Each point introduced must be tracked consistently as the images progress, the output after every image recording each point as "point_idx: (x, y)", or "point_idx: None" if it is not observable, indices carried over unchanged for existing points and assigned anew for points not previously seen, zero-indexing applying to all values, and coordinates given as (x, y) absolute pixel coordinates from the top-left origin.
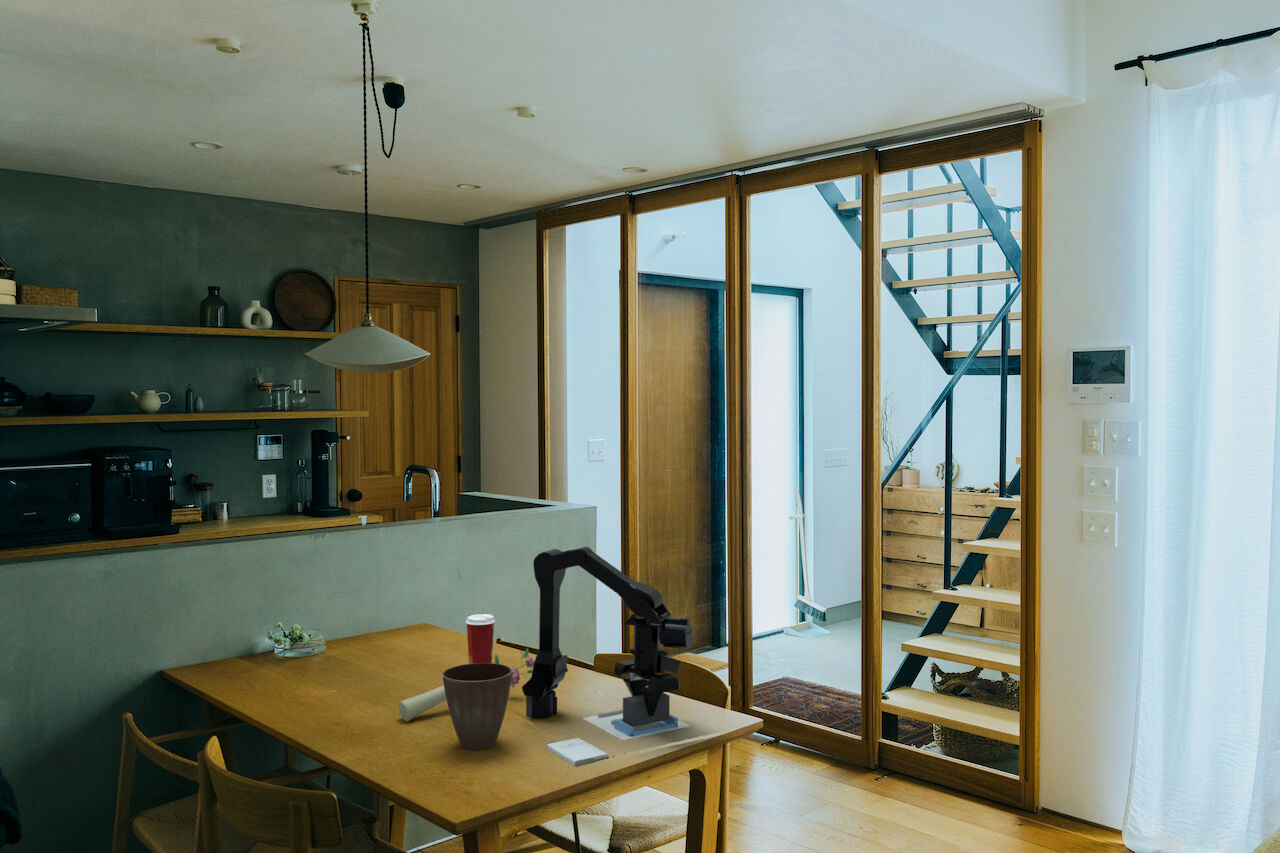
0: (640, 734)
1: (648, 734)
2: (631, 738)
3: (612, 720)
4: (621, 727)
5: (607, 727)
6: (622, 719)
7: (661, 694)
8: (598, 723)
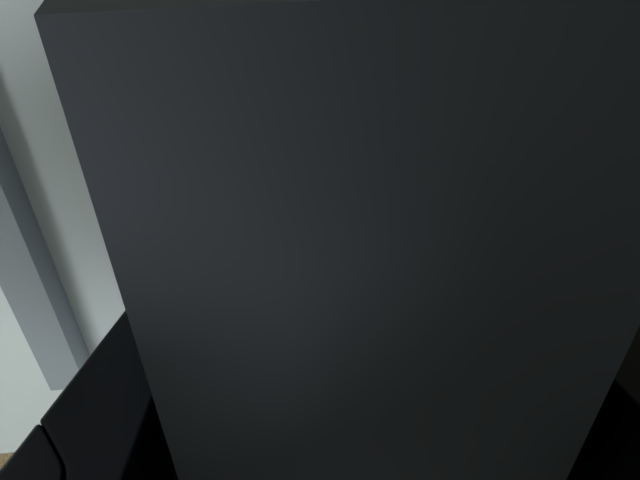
0: None
1: None
2: None
3: (54, 380)
4: None
5: None
6: (54, 308)
7: (477, 174)
8: (12, 424)
